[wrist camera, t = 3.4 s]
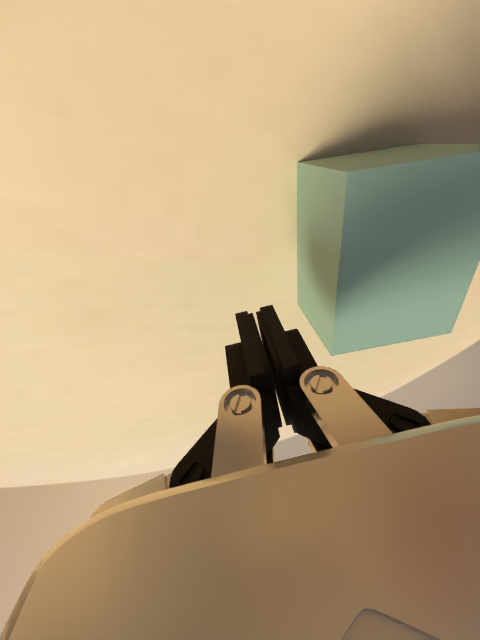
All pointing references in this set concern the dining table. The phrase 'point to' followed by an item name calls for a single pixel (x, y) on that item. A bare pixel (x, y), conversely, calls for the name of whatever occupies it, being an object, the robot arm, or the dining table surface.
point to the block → (387, 243)
